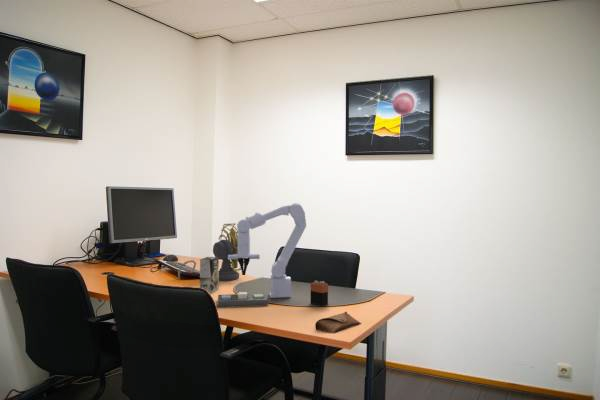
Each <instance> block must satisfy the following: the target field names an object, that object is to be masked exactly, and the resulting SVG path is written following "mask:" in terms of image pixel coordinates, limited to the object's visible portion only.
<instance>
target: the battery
mask: <svg viewBox="0 0 600 400" xmlns="http://www.w3.org/2000/svg"><path fill="white" fill-rule="evenodd" d="M310 304H312V305H314V306H315V305H316V306H321V307H323V306H326V305H329V284H328V283H326V282H325V281H324V280H323V281H318V280H314V282H310Z"/></svg>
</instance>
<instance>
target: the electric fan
mask: <svg viewBox="0 0 600 400" xmlns="http://www.w3.org/2000/svg"><path fill="white" fill-rule="evenodd" d="M228 226H230V227H231V228H230V229H229V228H228ZM235 226H237V223H235V222H234V223H223V226H222V227H221V230H220V231H221V233H220V235H219V237H218V241H217V242H214V244H213V246H212V254H213V255H214V257H219V260H220V261H221V267H219V281H222V282H224V281H225V282H228V281H229V282H230V281H236V280H238V279H239V278H240V273H239V271H242V270H241V267H240V266H239V265H238V264H239V262H238V259H230V260H228V255H235V254H238V229H237V227H235ZM226 229H227V230H228V231H229V232H228V231H227V230H226ZM223 232H224V233H225V234H226V235H224V234H223ZM222 237H223V238H224V239H222ZM243 261H244V259H243ZM189 263H193V264H194V265H193V266H192V269H191V272H192V271H194V272H195V269H196V266H197V262H196V261H195V260H192V259H191V260H187V261H185V262H184V263H182V264H181V265H180V266H179V269H178V272H177V276H178V279H179V280H180V277H181V270H182V268H183V267H184V266H185V265H187V264H189ZM243 265H244V262H243ZM237 268H238V269H237Z"/></svg>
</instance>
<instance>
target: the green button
mask: <svg viewBox="0 0 600 400" xmlns="http://www.w3.org/2000/svg"><path fill="white" fill-rule="evenodd" d="M253 294H254V298H263V293H253Z"/></svg>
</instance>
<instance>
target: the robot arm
mask: <svg viewBox="0 0 600 400" xmlns="http://www.w3.org/2000/svg"><path fill="white" fill-rule="evenodd" d="M280 216H291V217H292V219H293V221H294V225H295V226H294V227H293V230H292V232H291V234H290V235H289V237H288V239H287V241H286V243H285V245H284V247H283V249H282V251H281V253H280V255H279V256H278V258H277V259H276V261H274V262H273V264H272V266H271V275H270V292H269V293H268V294H269V297H270V299H272V298H273V299H275V298H277V299H278V298H292V278H291V276H287V274H286V268H287V266H288V263H289V261H290V258H291V257H292V255H293V253H294V251H295V249H296V247H297V245H298V243H299V241H300V239H301V237H302V236H303V234H304V232H305V230H306V228H307V221H306V220H307V219H306V212H305V211H304V208H303V206H302V205H301V204H300V203H297V202H294V203H292V204H287V205H283V206H280V207H277V208H276V209H273V210H270V211H268V212H266V213H262V212H255V213H254V214H253V215H251V216H245V219H241V220H239V222H237V223H236V229H237V230H238V234H237V235H238V254H235V255H228V260H230V261H231V259H238V261H237V262H238V264H239V268H240V267H241V270H240V271H241V275H242V276H246V271H247V268H248V266H249V264H250V261H251V260H260V254H251V234H250V229H251V230H254V229H256V228H260V227H261V226H264V225H265V224H266V222H267V221H269V220H271V219H274V218H277V217H280ZM243 259H244V260H243ZM243 262H244V264H243Z"/></svg>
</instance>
